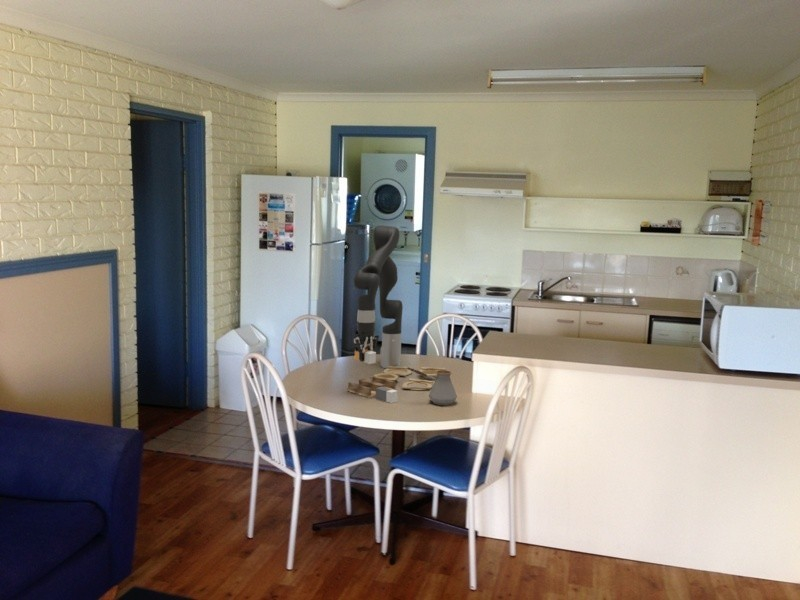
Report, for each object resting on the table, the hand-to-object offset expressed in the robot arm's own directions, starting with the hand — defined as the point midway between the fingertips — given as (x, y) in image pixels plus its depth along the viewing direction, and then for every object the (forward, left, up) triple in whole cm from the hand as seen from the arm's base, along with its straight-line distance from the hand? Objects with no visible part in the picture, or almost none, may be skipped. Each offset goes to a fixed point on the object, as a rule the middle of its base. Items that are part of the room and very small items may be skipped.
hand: (365, 360), depth 292 cm
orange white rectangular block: (0, 0, 0) cm, 1 cm away
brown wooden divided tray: (0, +4, -14) cm, 15 cm away
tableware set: (-2, +30, -15) cm, 33 cm away
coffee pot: (+28, +10, -15) cm, 33 cm away
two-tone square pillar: (+13, 0, -14) cm, 19 cm away
